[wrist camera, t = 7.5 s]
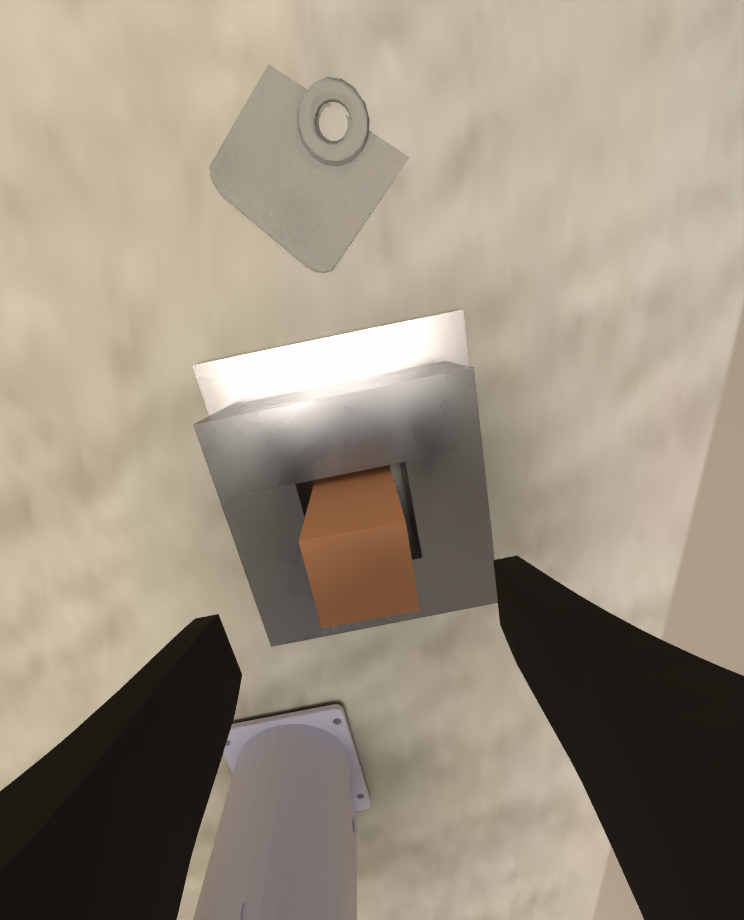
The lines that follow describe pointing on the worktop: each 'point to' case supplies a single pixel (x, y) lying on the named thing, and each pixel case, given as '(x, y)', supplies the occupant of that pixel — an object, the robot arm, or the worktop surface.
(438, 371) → the slotted block
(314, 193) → the mounting bracket
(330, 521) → the tan rectangular block
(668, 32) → the worktop surface
